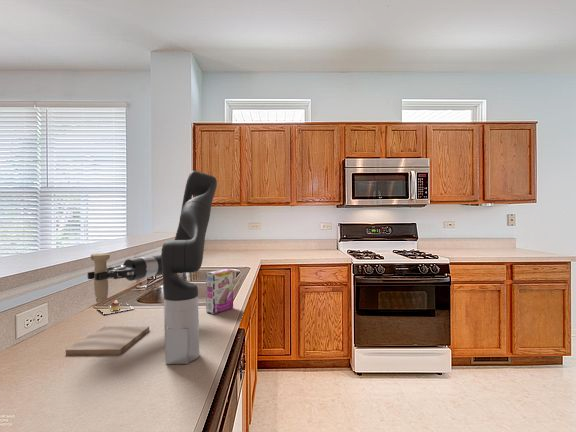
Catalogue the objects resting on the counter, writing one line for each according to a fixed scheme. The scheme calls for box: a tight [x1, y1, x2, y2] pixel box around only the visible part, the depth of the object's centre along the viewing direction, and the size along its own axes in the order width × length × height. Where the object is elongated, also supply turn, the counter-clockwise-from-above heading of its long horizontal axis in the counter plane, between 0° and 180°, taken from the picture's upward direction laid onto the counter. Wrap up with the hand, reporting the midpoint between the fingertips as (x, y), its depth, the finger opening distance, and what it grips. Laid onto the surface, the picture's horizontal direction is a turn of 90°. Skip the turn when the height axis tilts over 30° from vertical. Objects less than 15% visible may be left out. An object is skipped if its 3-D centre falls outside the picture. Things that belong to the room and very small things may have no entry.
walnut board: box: [65, 325, 150, 356], centre depth 111 cm, size 20×16×2 cm
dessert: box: [102, 299, 135, 315], centre depth 147 cm, size 12×12×5 cm
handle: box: [90, 252, 111, 304], centre depth 110 cm, size 5×6×15 cm
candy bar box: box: [205, 268, 234, 315], centre depth 144 cm, size 11×5×16 cm, turn 144°
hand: (92, 276), depth 107 cm, fingers closed on handle, 3 cm apart
